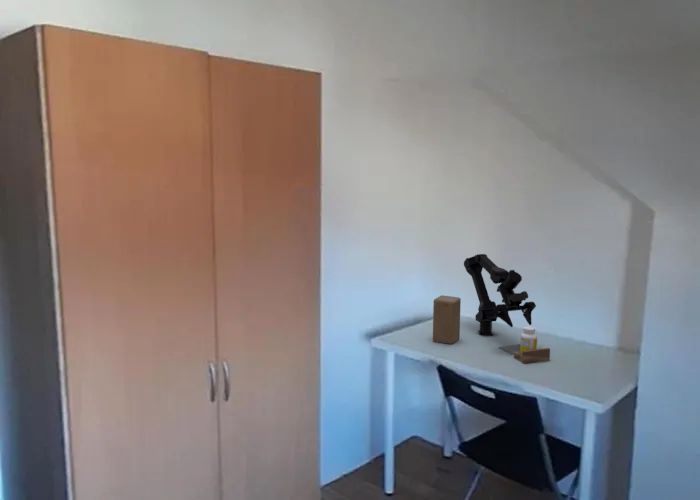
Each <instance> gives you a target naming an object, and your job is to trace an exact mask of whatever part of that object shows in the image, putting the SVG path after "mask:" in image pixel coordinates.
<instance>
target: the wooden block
mask: <svg viewBox="0 0 700 500" xmlns="http://www.w3.org/2000/svg"><path fill="white" fill-rule="evenodd" d="M432 311H433V313H432V316H433V318H432V319H433V321H432V341H433V342H436V343H442V344H443V343H444V344H448V345H453V344H454V343H456V342H457V341H458V340H459V339H460V336H461V335H460V333H461V330H460V329H461V326H460V325H461V297H459V296H458V297H457V296H449V295H440V296H438V297H436V298H434V299H433V310H432Z"/></svg>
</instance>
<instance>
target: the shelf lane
mask: <svg viewBox="0 0 700 500" xmlns="http://www.w3.org/2000/svg"><path fill="white" fill-rule="evenodd" d="M550 355H551V348H549V347H545V348H544V347H543V348H539V349H538V348H537V349H536V350H527V351H523V355H521V354H520V353H518V352H514V355H513V358H514V359H515V360H517V361H519V362H521V363H522V364H531V363H540V362H548V361H550V360H551V359H550V357H551V356H550Z"/></svg>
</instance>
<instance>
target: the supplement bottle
mask: <svg viewBox="0 0 700 500" xmlns="http://www.w3.org/2000/svg"><path fill="white" fill-rule="evenodd" d="M522 330H523V332H522V333H521V334H520V344H519V345H520V354H521V355H523V351H527V350H536V349H538V335H537V333H535V332H536V327H534V326H530V325H528V326H523V329H522Z"/></svg>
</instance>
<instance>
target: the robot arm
mask: <svg viewBox="0 0 700 500" xmlns="http://www.w3.org/2000/svg"><path fill="white" fill-rule="evenodd" d="M463 266H464V268H465V271H466V272H467V274H469V275H470V276H471V279H472V282H473V285H474V289H475V292H476V295H477V298H478V301H479V305H478V308H477V311H478V312H477V313H476V314H475V316H474V317H475V321H476V322H478V323H479V329H478V331H477V332H478V335H479V336H493V335H494V332H493V330H492V329H493V322H497V319H500V320H502V321H503V322H504V323H506V324H507V325H508V326H509V327H510V328H513V325H514V323H513V321H512V319H511V317H510V314H509V312H515V311H521V312H522V315H523V317H524V319H525V320H526V322H527V324H528V326H532V312H533V310H535V309H536V307H537V305H536V303H535V302H534V301H527V299H528V298H529V294H528V292H527V290H523V291H521V292H520V293H519V292H518V293H517V292H515V289H516V288H517V287H518V285H519V284H520V283H521V282H522V281H523V278H522V275H521V274H520V273H519V272H517V271H515V269H510V270H509V271H508V270H506V269H505V268H502V267H499V266H498V265H497V264H495V262H493V261H492V260H491V259H490V258H489V257H488V255H487V253H479V254H475V255H473V256H471V257H466V258H465V260H464V262H463ZM483 269H484V270H485V271H486V272H487V273H488V274H489V279H490V280H491V281H492V282H493V284H495V285H497V284H499V285H498V286H497V288H496V292H497V293H498V292H499V294H500V296H501V298H502V300H501V302H502V303H501V304H496V302H495V301H492V300H491V299H490V296H489V293H488V289H487V286H486V284H485V280H484V277H483V274H482V271H483ZM523 301H525V302H524V303H523ZM522 303H523V304H522ZM521 304H522V305H521Z"/></svg>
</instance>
